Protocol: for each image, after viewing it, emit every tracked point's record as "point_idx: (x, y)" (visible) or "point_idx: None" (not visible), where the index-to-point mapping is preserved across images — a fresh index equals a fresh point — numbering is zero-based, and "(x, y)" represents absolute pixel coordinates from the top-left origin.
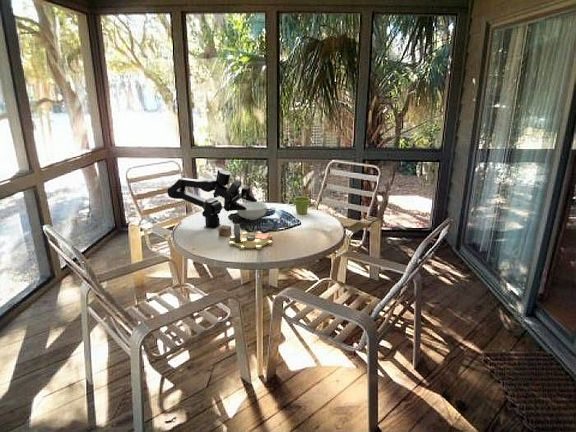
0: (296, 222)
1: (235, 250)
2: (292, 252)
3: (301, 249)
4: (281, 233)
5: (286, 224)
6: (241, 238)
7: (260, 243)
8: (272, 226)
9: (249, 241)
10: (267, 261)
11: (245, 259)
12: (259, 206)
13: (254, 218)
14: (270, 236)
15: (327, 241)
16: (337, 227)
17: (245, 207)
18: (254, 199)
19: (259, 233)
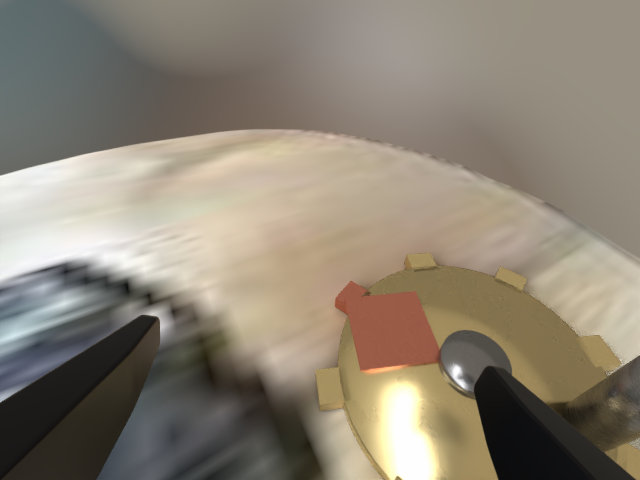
0: (20, 293)
1: None
2: (424, 184)
3: (381, 174)
4: (245, 288)
5: (63, 330)
6: None
7: (478, 285)
8: None
9: (509, 352)
10: (554, 213)
11: (634, 282)
12: None
13: None
14: (359, 287)
15: (271, 144)
16: (112, 152)
17: (501, 376)
18: (135, 352)
19: (350, 370)
